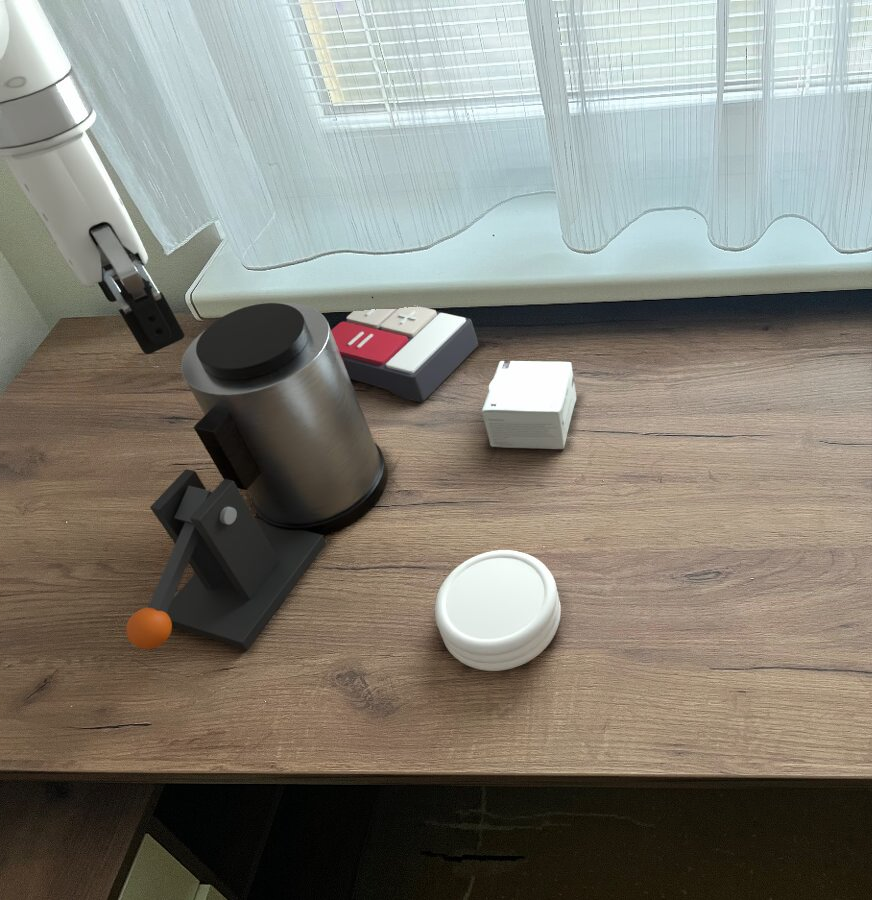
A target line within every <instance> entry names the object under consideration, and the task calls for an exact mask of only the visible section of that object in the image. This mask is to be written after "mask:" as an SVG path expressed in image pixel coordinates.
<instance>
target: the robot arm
mask: <svg viewBox="0 0 872 900" xmlns="http://www.w3.org/2000/svg"><path fill="white" fill-rule="evenodd" d="M96 120H97V113H96V111H95V109H94V106H93V105H92V103H91V101H90V99H89V97H88V96H87V93H86V92H85V89H84V87H83V85H82V84H81V81H80V79H79V78H78V76H77V74H76V72H75V69H74V68H73V66H72V65H71V62H70V60H69V58H68V57H67V54H66V52H65V51H64V49H63V46H62V45H61V43H60V41H59V38H58V37H57V35H56V33H55V31H54V29H53V27H52V25H51V23H50V21H49V19H48V17H47V15H46V14H45V11H44V10H43V7H42V6H41V4H40V2H39V0H0V157H3V158H4V160H5V161H6V163H7V165H8V167H9V169H10V171H11V172H12V174H13V176H14V178H15V180H16V181H17V184H18V185H19V186H20V188H21V190H22V192H23V194H24V196H26V199H27V200H28V202H29V203H30V205H31V206H32V208H33V209H34V211H35V213H36V215H37V217H38V218H39V220H40V221H41V222H42V225H43V226H44V227H45V229H46V231H47V232H48V235H49V236H50V238H51V239H52V241H53V242H54V244H55V245H56V248H58V250H59V252H60V254H61V255H62V257H63V258H64V260H65V261H66V262H67V264H68V266H69V267H70V269H71V270H72V272H73V274H74V275H75V276H76V278H77V279H78V280H79V282H80V284H81V285H83V286H85V287H86V288H87V287H88V288H95V287H96V284H98V286H99V288H100V290H101V291H102V292H103V294H104V297H105V298H106V299H107V301H108V302H110V303H114V302H117V303H118V304H119V306H120V308H119V309H118V312H119V314H120V315H121V317H122V319H123V321H124V322H125V324H126V325H127V327H128V329H129V330H130V332H131V334H132V336H133V337H134V339H135V341H136V342H137V345H138V346H139V348H140V349H141V351H142V352H143V353H144V354H145V355H150V354H151V355H152V354H153V353H155V352H157V351H160V350H162V349H164V348H167V347H168V346H170V345H173V344H175V343H177V342H179V341H182V340H183V339H185V332H184V330H183V329H182V327H181V325H180V323H179V321H178V319H177V318H176V316H175V314H174V312H173V310H172V308H171V307H170V304H169V303H168V301H167V299H166V297H165V295H164V294H163V293H162V292H161V291H159V290H158V288H157V285H156V284H155V283H154V282H153V280H152V277H151V276H150V275H149V273H148V272H147V270H146V269H145V266H146V265H147V263H148V260H149V255H148V253H147V250H146V249H145V245H144V244H143V242H142V239H141V238H140V235H139V233H138V231H137V229H136V227H135V225H134V223H133V221H132V219H131V217H130V214H129V212H128V211H127V209H126V206H125V204H124V202H123V200H122V199H121V196H120V195H119V193H118V191H117V189H116V187H115V185H114V182H113V180H112V179H111V177H110V175H109V173H108V171H107V170H106V168H105V166H104V164H103V162H102V160H101V157H100V156H99V154H98V152H97V150H96V149H95V147H94V145H93V143H92V141H91V139H90V137H89V136H88V134H87V132H86V131H87V130H88V129H90V128H91V127H92V126H93V125H94V123H95V122H96Z"/></svg>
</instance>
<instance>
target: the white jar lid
mask: <svg viewBox="0 0 872 900" xmlns="http://www.w3.org/2000/svg"><path fill="white" fill-rule="evenodd" d="M561 606H562V605H561V602H560V596H559V592H558V588H557V583H556V580H555V577H554V575H553V574H552V573H551V571H550V570H549V569H548V567H547V566H546V565H545V564H544V563H543V562H542V561H541V560H539V559H538V558H536V557H534V556H532V555H530V554H528V553H525V552H521V551H517V550H511V549H499V550H491V551H487V552H483V553H480V554H477V555H475V556H473V557H470V558H468V559H467V560H465V561H463V562H461V563H460V564H459V565H458V566H457V567H455V568H454V569H453V570H452V571H451V572H450V573H449V574H448V575H447V576H446V578H445V579H444V580H443V582H442V584H441V585H440V587H439V589H438V592H437V595H436V597H435V602H434V621H435V623H436V626H437V628H438V630H439V635H440V636H441V638H442V642H443V643H444V645H445V648H446V649H447V651H448V652H449V653H450V654H451V655H452V656H453V657H454V658H455V659H457V660H458V661H459V662H460V663H462V664H463V665H465V666H468V667H470V668H473V669H475V670H479V671H487V672H499V671H500V672H501V671H506V670H511V669H515V668H517V667H520V666H523V665H525V664H527V663H528V662H530V661H532V660H534V659H535V658H536V657H537V656H539V655H540V654H541V653H542V652H543V651H544V650H545V649H546V648H548V646H549V645H550V643H551V642H552V641H553V639H554V637H555V635H556V633H557V630H558V628H559V625H560V621H561V615H562V614H561V613H562V607H561Z"/></svg>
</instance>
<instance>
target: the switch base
mask: <svg viewBox="0 0 872 900" xmlns="http://www.w3.org/2000/svg"><path fill="white" fill-rule="evenodd" d="M188 486H192V487H196V488H200V489H204V490H207V488H206V486H205V485H204V483H203V481H202V480H201V478H200V477H199V475H198V474H197V472H196V471H195V470H191V469H187V468H186V469H184V470H183V471H182V472H181V473H180V474H179V476H178V477H176V479H175V480H174V481H173V482H172V483H171V484H170V485H169V486H168V487H167V488H166V489H165V490H164V491H163V493H161V495H159V496H158V497H157V499H156V500H155V501H154V502H153V503H152V504H151V505H150V506H149V509H150V510H151V511H152V513H153V514H154V516H155V517H156V519H157V520H158V521H159V523H160V524H161V526H162V527H163V529H164V530H165V532H166V533H167V534H168V536H169V537H170V538H171V540H172V541H173V543H174V545H175V544H176V542H177V539H178V537H179V535H180V533H181V530H182V528H183V526H184V523H185V522H183V521H181V520H178V519H176V518H174V517H175V515H176V513H177V510H178V508H179V506H180V504H181V501H182V499H183V497H184V495H185V492H186V490H187V488H188ZM211 492H212V493H211V494H210V495H209V496H208V498H207V499H206V500H205V501H204V502H203V503H202V504H201V505H200V506H199V508H198V509H197V510H196V511H195V512H194V513H193V514H192V515H191V517H190V520H191V521H192V523H193V524H194V526H195V527H196V529H197V530H198V532H199V533H200V537H199V539H198V541H197V544H196V546H195V548H194V551H193V553H192V555H191V558H190V560H189V562H188V565H189V566H190V568H191V569H192V570H193V572H194V573H193V574H192V575H191V577H190V578H189V579H188V580H187V581H186V583H184V585H183V586H182V588H180V590H179V591H178V592H177V593H176V594H175V595H174V597H173V599H172V601H171V604H170V606H169V608H168V611H167V614H168V616H169V617H170V619H171V623H172V628H176V629H179V630H182V631H185V632H188V633H191V634H195V635H198V636H200V637H204V638H206V639H210V640H213V641H216V642H219V643H222V644H226V645H229V646H231V647H235V648H238V649H241V650H243V651H248V650H249V649H250V648H251V646H252V645H253V643H254V642H255V641H256V639H257V638H258V637H259V636H260V634H261V633H262V631H263V630H264V628H265V627H266V626H267V624H268V623H269V622H270V620H271V619H272V618H273V617H274V615H275V614H276V612H277V611H278V609H279V608H280V607H281V605H282V604H283V603H284V601H286V598H287V597H288V596H289V595H290V593H291V592H292V591H293V590H294V588H295V587H296V585H297V584H298V582H299V581H300V580H301V579H302V577H303V576H304V574H305V573H306V571H307V570H308V569H309V568H310V566H311V565H312V564H313V562H314V561H315V560H316V558H317V557H318V556H319V554H320V553H321V551H322V550H323V549H324V547H325V546H326V544H327V541H326V540H325V537H324V535H320V534H316V533H312V532H308V531H305V530H286V529H281V528H277V527H274V526H272V525H270V524H268V523H266V522H265V521H263V520H262V519H259V517H255V515H254V514H253V512H252V511H251V509H250V507H249V505H248V503H247V502H246V500H245V498H244V496H243V495H242V493H241V491H240V489H238V488H237V486H236V484H235V482H234V481H232V480H228V479H222V481H221V482H220V483H219V484H218V485H217V486H216V488H214V490H213V491H211Z"/></svg>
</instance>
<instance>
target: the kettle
mask: <svg viewBox="0 0 872 900" xmlns="http://www.w3.org/2000/svg"><path fill="white" fill-rule="evenodd" d="M331 330H332V329H331V327H330V324H329V321H328V320H327V318H326V317H325V316H324V315H323V314H322V312H320V311H319V310H317V309H315V308H313V307H311V306H308V305H305V304H300V303H293V302H265V303H263V302H262V303H256V304H252V305H248V306H244V307H241V308H239V309H235V310H233V311H231V312H229V313H227V314H225V315H223V316H221V317H220V318H218V319H217V320H215V321H214V322H212V323H211V324H210V325H209V326H208V327H207V328H206V329H204V330H203V331H202V332H201V333H200V334H198V336H196V337H195V338H194V340H192V342H191V343H190V344H189V346H188V347H187V349H186V350H185V352H184V354H183V356H182V359H181V364H180V365H181V366H180V367H181V371H180V372H181V374H182V377H183V378H184V381H185V382H186V384H187V386H188V387H189V389H190V391H191V393H192V395H193V397H194V398H195V400H196V402H197V403H198V405H199V407H200V409H201V411H202V413H203V414H204V416H203V417H202V418H201V419H199V421H198V422H197V423H196V424H195V425H194V426H193V429H194V431H195V433H196V435H197V436H198V438H199V439H200V441H201V443H202V445H203V446H204V448H205V450H206V451H207V453H208V455H209V457H210V458H211V460H212V462H213V464H214V465H215V467H216V469H217V470H218V472H219V474H220V476H221V478H222V480H224V479H228V480H232V481H234V482H235V484H236V486H237V488H238V489H239V490H241V491H245V492H246V491H247V492H248V495H249V499H250V503H251V506H252V508H253V510H254V513H255V514H256V515H257V518H258V519H262V520H263V521H265V522H266V523H268V524H270V525H272V526H274V527H277V528H281V529H286V530H305V531H308V532H312V533H316V534H320V535H323V536H327V535H331V534H333V533H336V532H339V531H340V530H343V529H346V528H347V527H349V526H351V525H353V524H354V523H356V522H358V521H359V520H361V519H362V518H363V517H364V516H365V515H366V514H368V513H369V512H370V511H371V510H372V509H373V508H374V507H375V506H376V504H377V503H378V502H379V501H380V499H381V497H382V496H383V494H384V492H385V489H386V487H387V484H388V479H389V470H388V465H387V462H386V460H385V457H384V454H383V452H382V450H381V448H380V447H379V445H378V444H377V443H376V442H375V440H374V437H373V435H372V432H371V429H370V427H369V425H368V422H367V419H366V417H365V414H364V411H363V409H362V406H361V404H360V401H359V399H358V396H357V394H356V391H355V388H354V386H353V384H352V381H351V379H350V378H349V375H348V373H347V370H346V368H345V365H344V363H343V360H342V357H341V355H340V352H339V350H338V347H337V345H336V342H335V340H334V337H333V334H332V332H331Z"/></svg>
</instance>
